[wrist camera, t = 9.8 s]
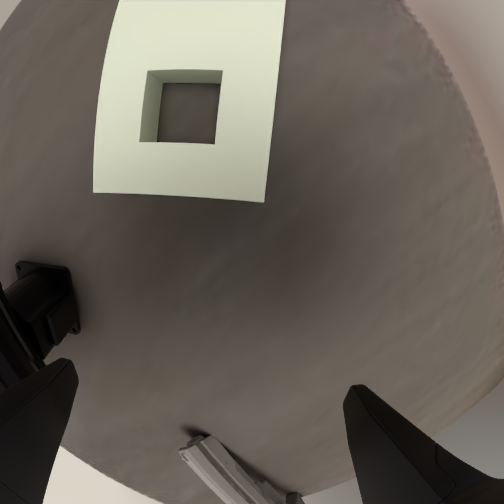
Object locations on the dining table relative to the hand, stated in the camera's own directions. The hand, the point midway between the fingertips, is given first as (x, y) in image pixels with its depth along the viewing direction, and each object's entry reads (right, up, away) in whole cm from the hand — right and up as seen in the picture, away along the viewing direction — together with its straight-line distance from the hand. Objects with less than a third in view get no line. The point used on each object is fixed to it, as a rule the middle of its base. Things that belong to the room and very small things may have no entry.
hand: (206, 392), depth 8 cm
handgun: (+2, -28, +25) cm, 38 cm away
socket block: (-2, +18, +7) cm, 19 cm away
